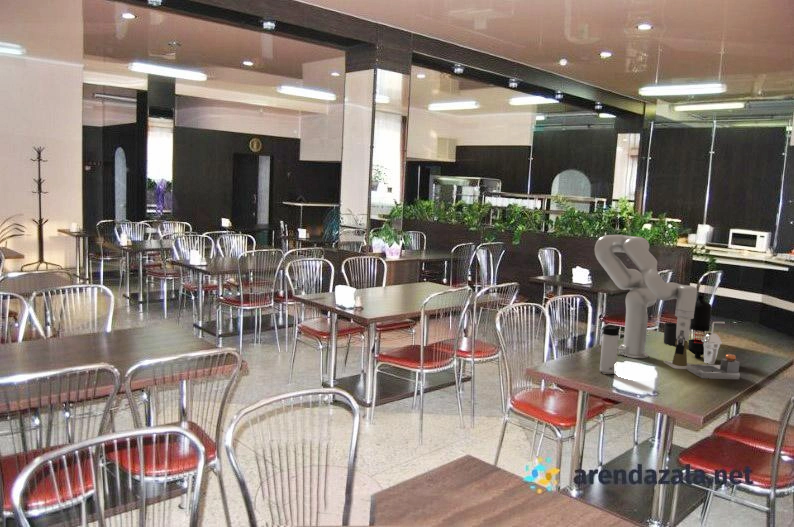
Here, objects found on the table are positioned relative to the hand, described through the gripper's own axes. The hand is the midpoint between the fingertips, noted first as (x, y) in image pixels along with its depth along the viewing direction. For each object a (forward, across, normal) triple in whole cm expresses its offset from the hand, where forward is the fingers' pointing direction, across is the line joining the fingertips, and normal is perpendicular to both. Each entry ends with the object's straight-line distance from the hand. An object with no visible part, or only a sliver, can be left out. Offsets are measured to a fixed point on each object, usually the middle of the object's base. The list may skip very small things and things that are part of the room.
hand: (679, 351), depth 268 cm
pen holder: (+7, +43, +5) cm, 44 cm away
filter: (+7, +22, -7) cm, 24 cm away
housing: (+6, -7, -14) cm, 16 cm away
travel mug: (+7, -32, +25) cm, 41 cm away
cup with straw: (+6, +13, -12) cm, 19 cm away
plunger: (+2, -6, -20) cm, 21 cm away
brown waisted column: (+6, 0, 0) cm, 6 cm away
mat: (+6, 0, -1) cm, 6 cm away
